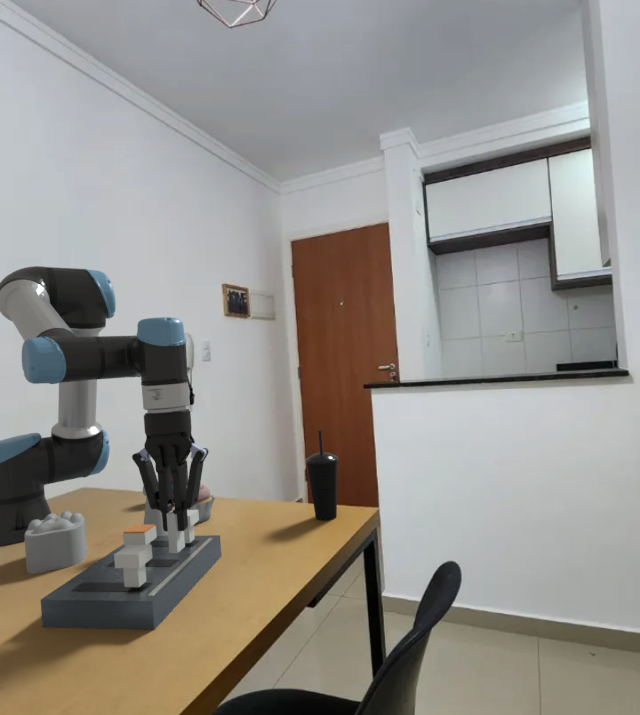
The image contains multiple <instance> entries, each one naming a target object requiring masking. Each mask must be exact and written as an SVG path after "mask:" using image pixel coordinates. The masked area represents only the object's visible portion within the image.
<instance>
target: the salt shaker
mask: <svg viewBox="0 0 640 715" xmlns="http://www.w3.org/2000/svg"><path fill="white" fill-rule="evenodd" d="M142 494H143V495H144V496H146V498H145V505H144V507H145V509H144V514H143V515H144V516H143V517H144V518H143V524H142V525H148V524H155V526H156V534H157V536H168V531H164V529H163V521H162V513H161V511H159V510H157V509H151V508H150V505H149V501H148V498H147V495H146V491H145V488H144V485H143V487H142Z"/></svg>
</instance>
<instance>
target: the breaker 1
mask: <svg viewBox="0 0 640 715" xmlns="http://www.w3.org/2000/svg"><path fill="white" fill-rule="evenodd" d="M150 559H152V545H127V546H126V547H124V548H123V549H121V550H120V551H119V552H117V553H116V554H114V561H115V568H123V572H124V585H125V587H140V586H141V585H142V584H144V583H145V582H146V568H145V563H147V562H148V561H149V560H150Z"/></svg>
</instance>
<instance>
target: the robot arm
mask: <svg viewBox="0 0 640 715" xmlns="http://www.w3.org/2000/svg"><path fill="white" fill-rule="evenodd" d="M116 306H117V305H116V295H115V290H114V287H113V284H112V281H111V279H110V278H109V276H108V275H107V274H106V273H105V272H103V271H100V270H95V269H88V268H74V267H73V268H71V267H70V268H69V267H56V266H55V267H51V266H50V267H49V266H38V265H37V266H27V267H23V268H19V269H17V270H14V271H13V272H11V273H9V274H8V275H6V276H5V277H4V278H3V279H2V280H1V281H0V313H1V314H2V316H3V317H4V318H6V319H7V320H9V321H10V322H12V323H13V325H14V327H16V328H15V329H16V330H17V332H18V333H19V334H20V336H21V338H22V340H23V343H22V348H21V367H22V370H23V376H24V377H25V379H26V381H27V382H28V383H31V384H35V385H36V384H37V385H39V384H50V385H56V384H58V408H57V411H58V412H57V416H58V417H57V418H58V419H57V422H56V423H55V424H54V425H53V426H51V429H50V436H47V437H46V436H45V437H42V435H41V434H40V433H38V432H32V433H26V434H20V435H15V436H12V437H11V436H10V437H8V438H4V439H2V440H0V546H3V545H11V544H15V543H20V542H25V536H24V535H25V532H26V530H27V529H28V526H29V523H30V522H31V521H33V520H36V519H38V520H40V521H41V520H44V519H45V517H46V516H47V515H49V514H52V511H51V508H50V505H49V503H48V501H47V499H46V495H45V485H51V484H55V483H59V482H60V483H61V482H65V481H69V480H75V479H79V478H81V479H82V478H83V479H84V478H88V477H90V476H93V475H97V474H100V473H101V472H102V471H104V469H105V468H106V466H107V464H108V462H109V457H110V450H111V449H110V447H111V446H110V445H109V444H110V440H109V439H110V437H109V435H108V433H107V431H105V430H104V429H103V428H102V425H101V424H100V423H99V422H98V421H97V417H96V416H97V394H98V393H97V392H98V388H97V387H98V380H108V379H122V378H124V379H125V378H140V381H141V383H140V385H141V394H142V407H143V408H142V409H143V410H144V411H147V412H146V413H144V414H143V422H144V423H143V425H144V426H143V427H144V434H145V436H146V437H145V438H146V439H145V442H144V443H143V444H144V447H143V448H142V449H141V450H139V451H138V452H136V453H133V454H132V456H131V458H132V460H133V462H134V463H135V465H136V466H137V468H138V471H139V474H140V478H141V481H142V484H143V486H144V488H145V491H146V495H147V498H148V501H149V505H150V508H151V509H157V510H159V511H161V513H162V521H163V529H164V531H168V541H169V553H178V552H179V551H181V550H182V549H183V548H184V547H185V539H184V530H185V529H187V527H188V517H187V509H189V508H191V507H192V506H194V505H195V504H196V503H197V501H198V495H199V488H200V483H201V480H202V474H203V469H204V463H205V462H204V461H205V460H206V458H207V456H208V454H209V449H208V448H206V447H203V448H202V447H201V446H199V445H197V444H196V441H195V439H194V437H193V435H192V418H191V417H192V414H191V410H190V409H189V408H187V407H188V406H190V404H191V401H190V400H191V399H190V390H189V384H188V383H189V382H188V381H189V380H188V377H189V376H188V361H187V360H188V359H187V349H186V348H187V345H186V344H187V343H186V342H187V339H186V335H185V329H184V322H183V321H182V320H181V319H180V318H177V317H168V316H167V317H166V316H165V317H148V318H143V319H140V320H139V321H138V322H137V330H136V335H105V336H103V335H102V336H99V335H100V332H101V331H103V330H104V329H105V328H106V324H107V319H108V320H109V319H112V318H113V317H114V316H115V312H116V308H117V307H116ZM190 454H191V455H190ZM189 455H190V458H191V459H192V460H191V462H190V466H189V472H188V485H187V486H186V473H185V468H186V461H187V458H188V457H189ZM151 459H152V460H153V461H154V464H155V466H154V464H153V462H152V460H151ZM171 472H172V474H171ZM156 473H157V475H156ZM172 480H173V488H172ZM173 493H174V502H173Z"/></svg>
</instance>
